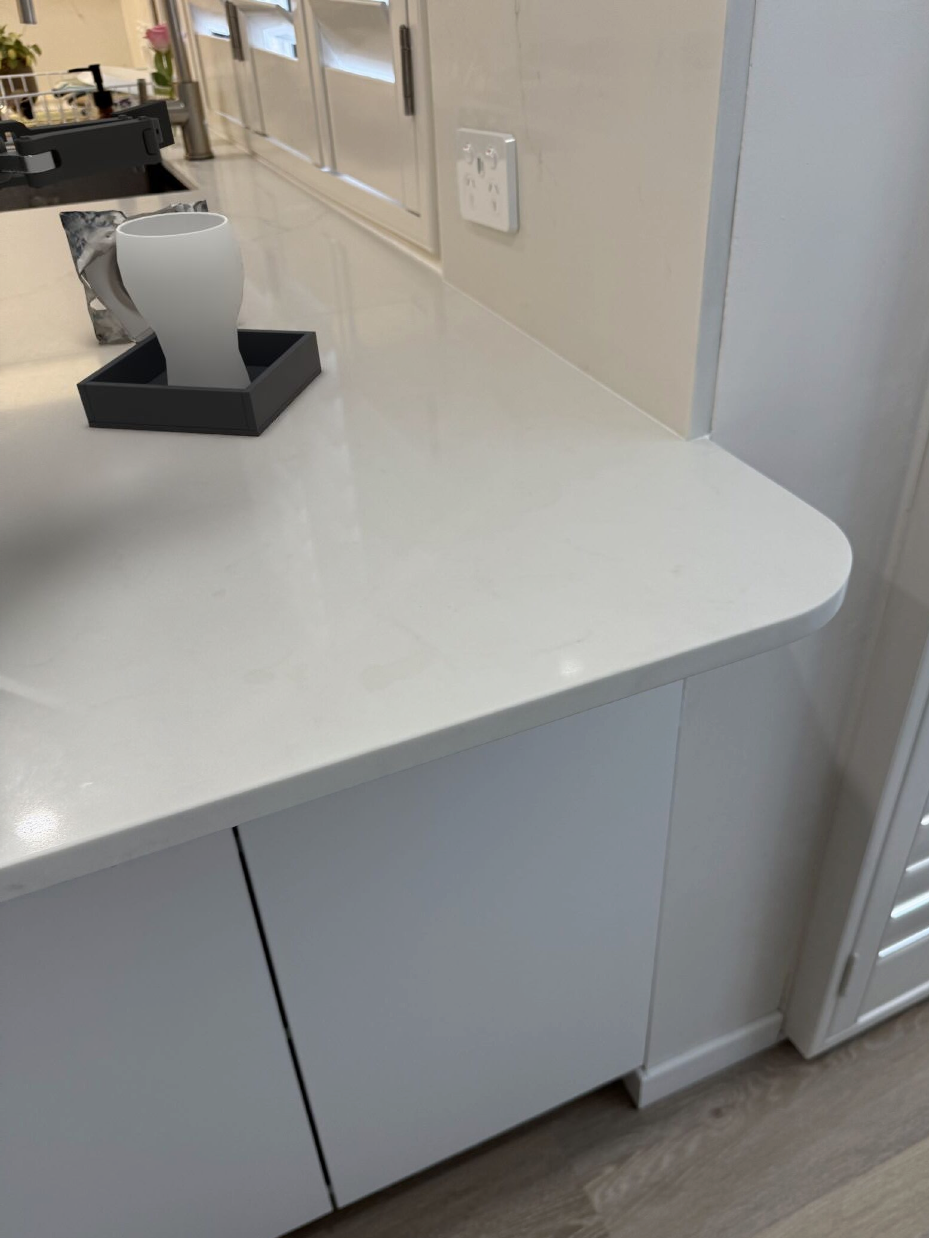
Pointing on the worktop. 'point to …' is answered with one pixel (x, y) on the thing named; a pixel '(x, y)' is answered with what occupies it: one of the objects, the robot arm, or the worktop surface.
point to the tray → (146, 401)
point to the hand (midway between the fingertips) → (80, 121)
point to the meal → (109, 268)
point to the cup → (188, 293)
